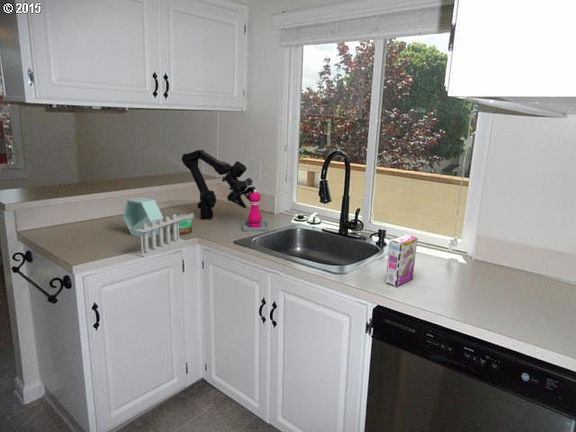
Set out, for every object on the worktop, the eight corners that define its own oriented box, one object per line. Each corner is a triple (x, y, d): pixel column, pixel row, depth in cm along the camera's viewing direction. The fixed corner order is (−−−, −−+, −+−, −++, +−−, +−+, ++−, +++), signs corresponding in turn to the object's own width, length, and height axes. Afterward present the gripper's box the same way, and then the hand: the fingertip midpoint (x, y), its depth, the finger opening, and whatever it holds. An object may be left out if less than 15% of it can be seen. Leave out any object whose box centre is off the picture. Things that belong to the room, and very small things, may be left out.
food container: (176, 237, 188) (175, 216, 186) (170, 234, 193) (169, 214, 190) (199, 232, 196) (198, 213, 194) (193, 230, 201) (192, 211, 198)
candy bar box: (396, 287, 137) (401, 243, 133) (384, 283, 141) (388, 239, 137) (413, 279, 145) (418, 237, 141) (401, 275, 148) (405, 234, 144)
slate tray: (242, 231, 201) (242, 227, 200) (242, 224, 213) (242, 221, 213) (268, 231, 202) (268, 227, 202) (267, 224, 215) (267, 221, 214)
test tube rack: (144, 257, 161) (142, 226, 157) (136, 255, 162) (133, 225, 159) (184, 241, 183) (183, 213, 179) (177, 240, 184) (175, 212, 181)
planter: (136, 245, 189) (117, 207, 190) (149, 241, 196) (131, 204, 197) (155, 231, 180) (136, 191, 181) (168, 227, 186) (149, 189, 188)
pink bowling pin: (261, 225, 211) (262, 188, 207) (261, 228, 204) (262, 190, 200) (248, 224, 211) (248, 188, 206) (247, 228, 204) (247, 190, 199)
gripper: (231, 175, 197) (249, 199, 194) (253, 171, 213) (269, 194, 210) (219, 189, 203) (236, 212, 200) (241, 184, 219) (257, 206, 216)
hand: (250, 206), depth 206 cm, fingers open, 9 cm apart
